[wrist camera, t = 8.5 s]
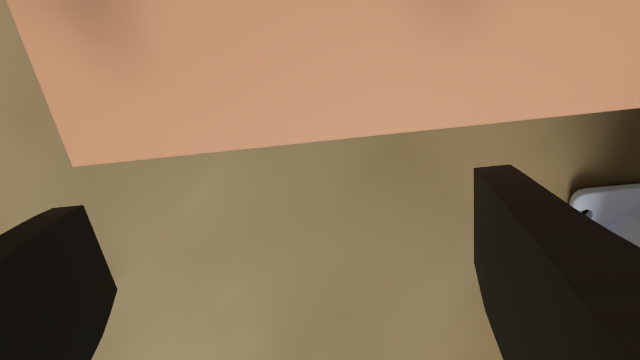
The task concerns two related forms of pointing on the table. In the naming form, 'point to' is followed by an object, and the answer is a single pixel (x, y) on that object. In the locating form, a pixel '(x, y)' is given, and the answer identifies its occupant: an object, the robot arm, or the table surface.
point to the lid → (317, 68)
